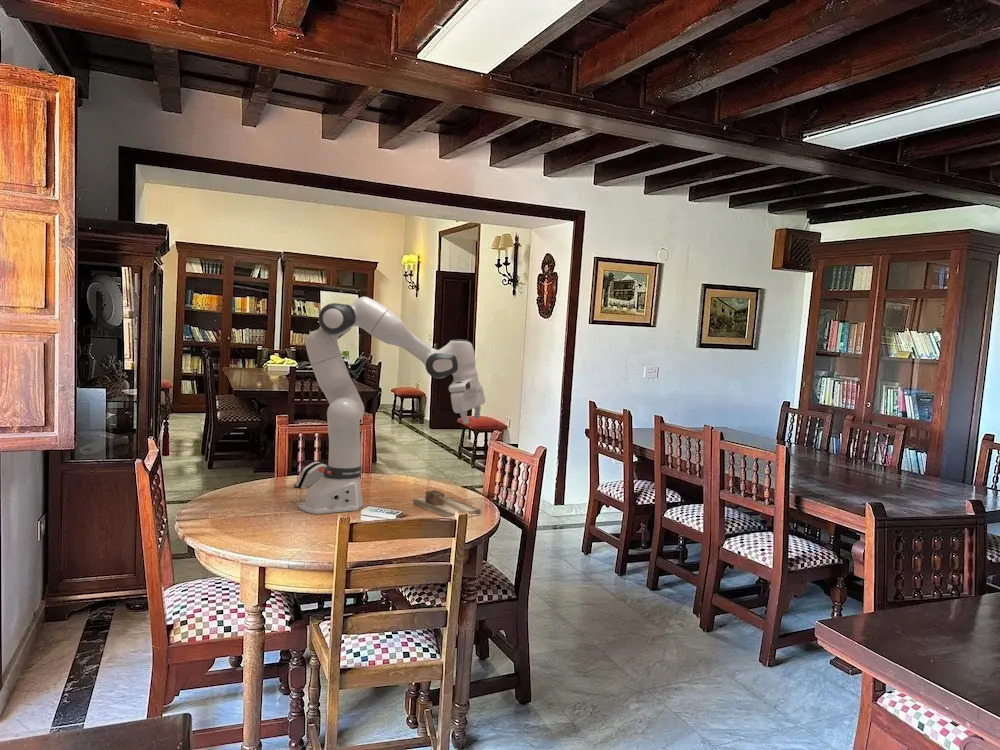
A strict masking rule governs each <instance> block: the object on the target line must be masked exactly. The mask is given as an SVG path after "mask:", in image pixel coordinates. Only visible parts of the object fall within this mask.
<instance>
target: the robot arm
mask: <svg viewBox="0 0 1000 750" xmlns="http://www.w3.org/2000/svg"><path fill="white" fill-rule="evenodd" d="M317 318H318V323H319V327H318V328H317V329H315V330H313V331H311V332H310V333H309V334H307V336H305V337H306V338H305V347H306V352H307V357H308V361H309V364H310V366H311V368H312V371H313V374H314V375H315V376H314V377H315V379H316V380H317V384H318V387H319V388H320V390H321V391H322V393H323V394H324V396H325V398H326V399H327V402H328V404H329V406H328V407H327V410H326V417H327V421H326V422H327V434H328V463H327V467H326V468H324V467H319V468H318V471H319V472H321V473H324V475H323V477H322V478H321V479H320V480H318V481H317V482H316V483H315V484H314V485H312V486H309V487H308V489H307V490H306V493H305V499H304V501H301V502H299V503H298V509H300V510H301V511H303V512H306V513H308V514H314V515H320V514H321V515H323V514H331V513H342V512H343V513H344V512H352V511H353V512H354V511H355V512H356V511H359V509H360V508H361V507H363V506H364V501H363V497H362V490H361V478H362V465H361V455H362V454H361V450H362V442H361V431H360V429H361V428H360V426H361V425H360V424H361V423H360V422H361V419H362V418H363V417H364V415H365V406H364V402H363V401H362V398H361V396H360V393H359V392H358V389H357V387H356V385H355V384H354V382H353V380H352V378H351V375H350V374H349V371H348V367H347V366H346V363H345V360H344V357H343V355H342V352H341V350H340V347H339V341H338V340H339V339H340V338H341V337H343V336H344V335H346V334H347V333H348V332H350V330H351V329H352V328H353V327H358V328H360V329H362V330H364V331H365V332H367V333H368V334H369V335H371V336H372V337H374V339H377V340H378V341H381V342H382V343H385V344H387V345H391V346H394V347H395V346H396V347H399V348H401V349H403V350H404V351H407V352H408V353H410V354H411V355H412V356H413V357H415V358H416V359H418V360H419V361H421V362H422V364H423V365H424V366H425V370H426V372H427V374H428V375H430V377H432V378H435V379H444V378H446V377H448V376H451V375H452V376H453V380H452V382H451V384H450V385H449V386H448V391H449V393H450V401H451V407H452V410H453V412H454V413H455V414H459V415H460V417H461V419H462V423H463V424H464V425H467V424H469V423H470V417H468V411H469V410H470V411H471V410H472V409H473V410H474V413H473V416H474V419H475V420H477V419H480V418H481V408H482V407H481V406H482V405H484V404H485V403H486V398H485V392H484V389H483V386H482V385H481V382H479V375H478V371H477V369H476V364H477V363H476V362H477V361H476V356H475V350H474V347H473V344H472V343H471V342H470V341H469V340H467V339H460V338H459V339H457V338H456V339H451V340H449V342H448V343H447V344H446V345H444V346H443V347H441V348H439V349H438V348H434V347H432V346H430V345H429V344H427V343H426V342H424V341H423V340H422V339H420V338H419V337H418V336H416V335H415V334H414V333H413V332H411V330H410V329H409V328H408V327H407V325H406V324H405V323H404V322H403V320H401V319H400V317H399V316H398V315H396V313H394V312H393V311H392V310H391V309H389V308H388V307H387V306H385V305H383V304H382V303H380V302H378V301H377V300H374V299H373V298H370V297H368V296H361V297H358V298H357V299H356V300H354V302H352V304H351V305H350V304H344V303H335V302H334V303H328V304H326V305H325V306H323V308H321V310H320V311H319V313H318V317H317Z"/></svg>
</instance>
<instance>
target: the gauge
mask: <svg viewBox="0 0 1000 750" xmlns="http://www.w3.org/2000/svg"><path fill="white" fill-rule="evenodd" d="M445 494H446V493H444V492H442V491H440V490H436V489H432V490H426V491H425V496H424V497H425V502H426V503H429V504H432V505H434V506H437V505H444V502H445V501H446V500H447V498H448V497H447V498H445V497H446V496H445Z"/></svg>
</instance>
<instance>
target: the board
mask: <svg viewBox="0 0 1000 750" xmlns="http://www.w3.org/2000/svg"><path fill="white" fill-rule="evenodd" d="M425 497H426V496H424V497H418V498H413V501H412V503H413V505H414V506H417V507H420V508H422V509H425V510H427V511H430V512H433V513H434V514H438V515H440V516H442V517H445V518H447V517H451V516H453V515H454V513H455V512H456V511H467V512H468V513H469V514H471V515H472V514H481V513H482V511H481V508H478V507H475V506H472V505H470V504H467V503H464V502H461V501H458V500H455V499H452V498H449V497H446V496H445V498H447V500H446V501H445V502H444V505H437V506H434V505H432V504H429V503H426V502H425Z"/></svg>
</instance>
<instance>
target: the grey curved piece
mask: <svg viewBox="0 0 1000 750" xmlns="http://www.w3.org/2000/svg"><path fill="white" fill-rule="evenodd" d="M327 466H328V464H324V463H323V462H320V461H313V462H312V463H309V464H308V465H306V466H304V467H303V468H302V470H301V472H300V474H299V477H298V479H297V481H296V482H294V483H293V484H292V487H294V486H296V487H300V489H302V488H304V489H306V488H305V487H307V488H309V487H311V485H313V484H315V483H316V482H317V481H318V480H320V479H321V478H322V477H323V475H324V473H321V472H319V471H318V468H319V467H324V468H326V467H327ZM308 486H309V487H308ZM294 488H295V487H294Z"/></svg>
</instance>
